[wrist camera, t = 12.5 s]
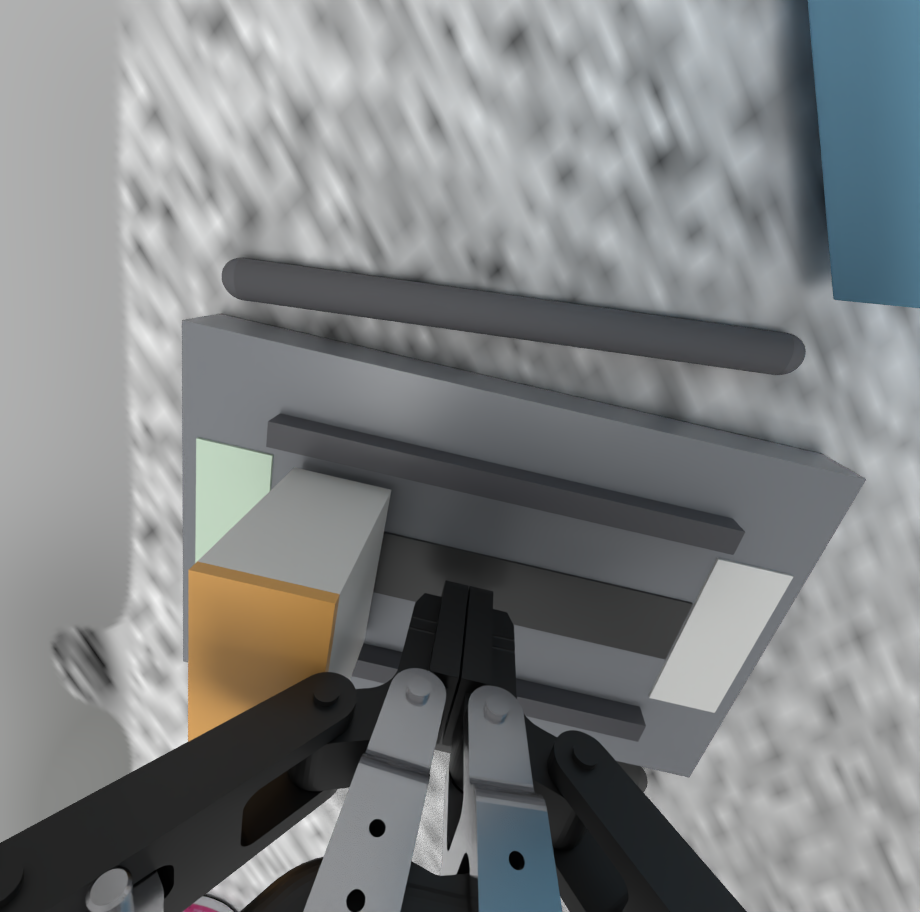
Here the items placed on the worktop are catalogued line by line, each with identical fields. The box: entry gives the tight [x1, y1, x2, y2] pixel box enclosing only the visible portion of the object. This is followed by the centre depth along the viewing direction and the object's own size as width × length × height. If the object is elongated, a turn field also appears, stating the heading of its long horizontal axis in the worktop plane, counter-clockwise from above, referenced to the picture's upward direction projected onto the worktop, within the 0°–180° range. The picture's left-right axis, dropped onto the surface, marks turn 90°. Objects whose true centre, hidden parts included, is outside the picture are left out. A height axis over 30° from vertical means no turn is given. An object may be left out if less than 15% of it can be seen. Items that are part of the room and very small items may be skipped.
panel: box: [182, 314, 866, 777], centre depth 17 cm, size 20×13×3 cm, turn 78°
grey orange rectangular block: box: [188, 467, 391, 742], centre depth 13 cm, size 3×6×5 cm, turn 168°
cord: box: [222, 258, 805, 375], centre depth 14 cm, size 17×1×1 cm, turn 83°
